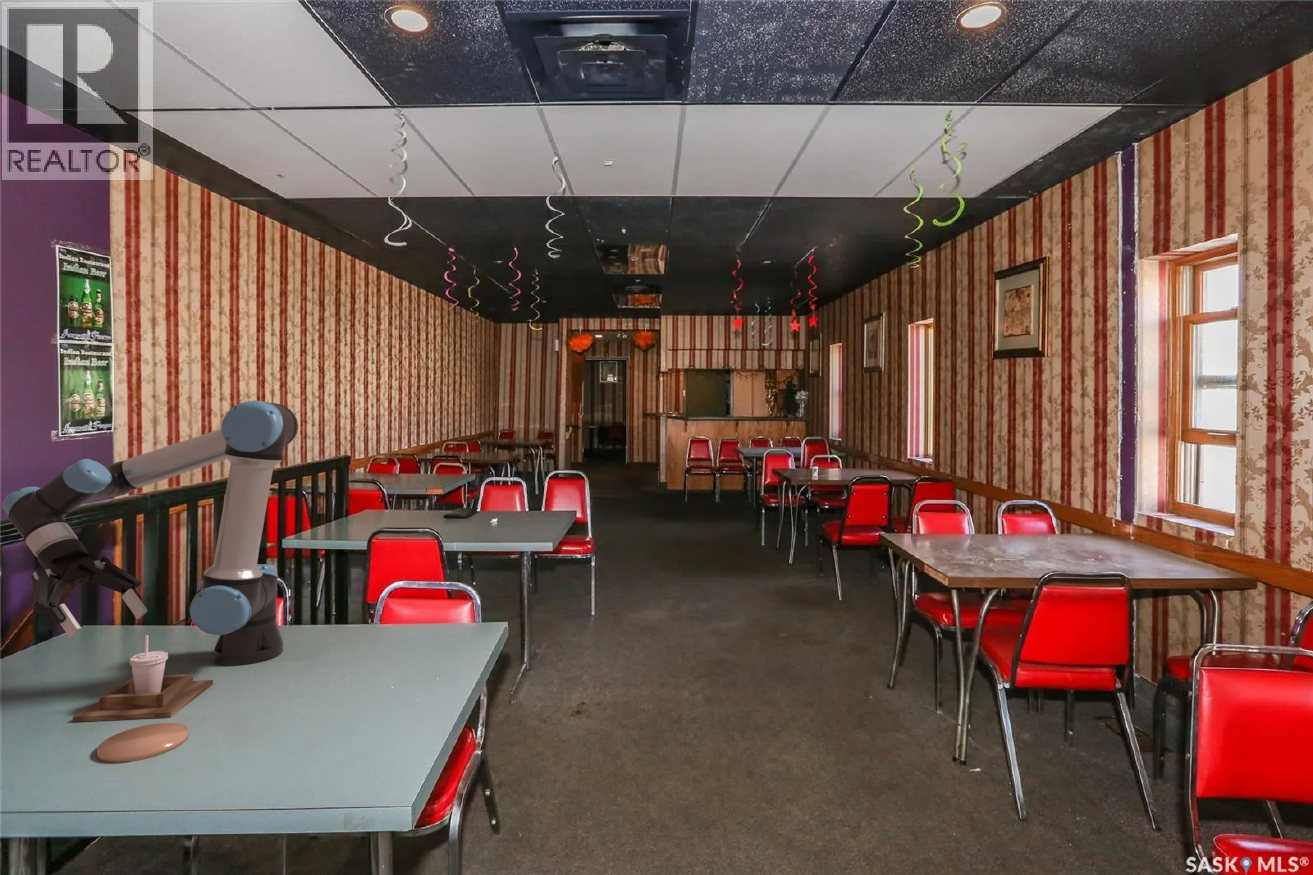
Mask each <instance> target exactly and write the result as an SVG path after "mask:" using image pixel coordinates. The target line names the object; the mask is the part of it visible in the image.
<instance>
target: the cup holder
mask: <svg viewBox="0 0 1313 875" xmlns="http://www.w3.org/2000/svg"><path fill="white" fill-rule="evenodd" d="M213 685H214V679H207V680H206V679H204V680H194V674H193V673H187V674H186V673H184V674H164V675H163V680H162V686H161V692H160V693H142V694H135V687H134V680H133V677H131V678H130V679H128V680H126V681H125V682H123V683H121V684H119V685H118V686H116V687H114V688H112V689H110V690H109V691H108V692H106V693H105V694H102V695H101V696H100V697H99V699H98V701H96V702H95V703H93V704H92V705H90V706H88V707H87V708H86V709H85V708H84V710H82V711H80V712H79V713H77V714H75V715H74V716H72V723H81V722H84V723H85V722H100V721H102V722H103V720H105V721H117V720H118V721H122V720H141V719H162V718H172V717H173V716H174V715H175V714H177V713H178V712H179V711H181V710H182V709H183V708H185V707H186V706H187V705H188V704H189V703H191V702H192V701H194V700H195V699H197V698H198V697H199V696H201V695H202V694H203V693H204V692H205V691H207V690H208V689H209V688H210V687H212V686H213Z"/></svg>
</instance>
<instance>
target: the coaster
mask: <svg viewBox="0 0 1313 875" xmlns="http://www.w3.org/2000/svg"><path fill="white" fill-rule="evenodd" d="M189 730H190V729H189V727H188V726H187V725H185V724H183V723H177V722H159V723H152V724H147V725H141V726H137V727H134V728H130V729H126V730H124V731H121V732H119V733H116V734H114V735H112V736H110V737H108V738H106V739H105V740H103V741H102V742H101V743H100V744H98V746H97V749H96V757H97V759H98V760H100V761H102V762H106V763H128V762H129V763H130V762H134V761H135V762H136V761H141V760H146V759H149V758H152V757H156V756H159V755H162V754H164V753H167V752H169V751H172V750H174V749H176V748H177V747H180V746H181V745H182V744H183V743H185V742H186V741H187V739H188V738H189V735H190V734H189Z"/></svg>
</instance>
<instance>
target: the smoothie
mask: <svg viewBox="0 0 1313 875" xmlns="http://www.w3.org/2000/svg"><path fill="white" fill-rule="evenodd" d="M168 659H169V653H168V652H166V651H163V650H156V651H149V634H147V635H145V636H144V652H142V653H138V654H136V655H133V656H131V657H130V658H129V666H131V672H132V678H133V680H134V687H135V694H142V693H160V692H161V686H162V680H163V675H165V669H166V662H167V660H168Z"/></svg>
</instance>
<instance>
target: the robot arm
mask: <svg viewBox="0 0 1313 875" xmlns="http://www.w3.org/2000/svg"><path fill="white" fill-rule="evenodd" d="M298 431H299V421H298V418H297V417H296V415H295V413H294V412H293V411H292V410H291V409H290V408H288V407H287V406H285V405H284V404H280V403H276V402H269V401H268V402H267V401H263V400H249V401H243V402H240V403H238V404H236V405H234V406H233V407H231V408H230V409H229V410H227V412H226V413H225V415H224V417H223V419H222V422H221V428H220V429H216V430H213V431H210V432H207V433H204V434H201V435H199V436H196V437H195V436H194V437H191V438H188V439H185V440H183V441H182V440H181V441H179V442H177V443H176V442H175V443H173V444H170V445H167V446H165V447H164V446H163V447H161V448H158V449H155V450H154V449H153V450H152V451H148V452H146V453H145V452H144V453H142V454H138V455H136V456H133V457H130V458H126V459H124V460H120V461H117V462H114V463H111V464H107V465H103V464H101V462H98V461H97V460H92V459H91V458H83V459H80V460H78V461H77V462H75V463H73V464H72V465H70V466H67V467H66V468H65V469H64V470H63V471H62V472H61V473H59V474H58V475H57V476H55V477H54V478H52V479H51V480H50V481H49V482H47V483H46V484H44V485H43V486H42V487H39V486H27V487H23V488H22V487H21V488H20V489H19V490H16V491H12V492H11V493H9V494H8V495H7V496H6V497H5V498H4V499H3V500H2V505H1V506H2V509H3V510H4V512H5V514H6V516H7V520H8V521H9V522H10V523H11V524H12V525H13V527H14V528H15V529H16V530H17V532H18V533H19V534H20V536H21V537H22V539H23V540H24V542H25V544H26V545H27V547H28V548H29V549H30V551H31V552H32V554H33V555H34V556H35V557H36V558H37V561H38V562H39V564H40V566H38V567H37V568H36V569H35V571H34V572H33V573H32V574H31V576H30V577H31V580H32V581H33V584H34V585H33V595H32V596H33V598H32V612H33V613H36V614H38V613H40V612H42V615H44V616H50V617H51V619H52V620H53V622H54V623H55V624H56V625H57V624H60V626H61V627H62V629H63V630H64V632H65V633H66V635H67V636H68V637H69V638H73V637H75V636H76V634H77V633H78V632H79V631H80V630H81V629H82V627H81V625H80V624H79V622H78V621H77V620H76V619H75V617H74V616H73V613H72V612H71V611H70V610H69V608H68V607H67V605H66V604H65V603H60V601H61V599H62V597H63V594H64V592H65V591H66V588H67V585H68V586H74V585H77V584H84V583H86V582H87V583H90V584H97V585H100V586H102V587H104V588H106V589H109V590H112V591H115V592H118V593H120V594H122V596H121V598H122V600H123V602H124V603H125V604H126V606H127V607H128V608H129V610H130V611H131V613H132V614H133V615H134V617H135V618H136V619H137V620H140V619H142V618H143V617H144V615H145V614H146V613H147V612H148V608H146V606H145V604H144V603H143V602H142V600H143V598H142V597H141V595H140V594H139V592H138V591H137V589H138V588H139V587H140V586H141V584H142V583H143V582H142V581H141V580H140V579H138V578H137V577H135V576H134V575H132V574H130V573H128V572H127V571H125V570H124V569H122V568H120V567H119V566H117V565H115V564H114V563H112V561H111V560H110V559H109V558H108V557H107V556H102V557H101V558H99V559H97V560H92V559H90V557H89V553H88V550H87V549H86V547H85V546H84V544H83V543H82V542H81V540H79V538H78V536H77V535H76V533H75V532H74V531H73V528H71V526H70V525H69V524H68V522H67V520H66V519H65V517H66V516H67V515H69V514H71V513H72V512H73V511H74V510H76V509H77V508H79V507H80V506H81V505H83V504H84V503H86V502H88V501H94V500H99V499H105V498H106V499H107V498H114V497H115V498H116V497H117V498H118V497H120V496H124V495H127V494H129V493H131V492H132V491H135V490H137V489H141V488H143V487H146V486H150V485H152V484H155V483H159V482H161V481H164V480H167V479H171V478H173V477H176V476H178V475H182V474H185V473H189V472H192V471H195V470H198V469H200V468H203V467H207V466H209V465H213V464H217V463H218V462H221V461H225V460H228V461H229V463H230V467H229V471H228V477H227V484H226V489H225V495H224V500H223V507H222V513H221V518H220V524H219V530H218V536H217V540H216V541H217V542H216V547H215V548H216V549H215V551H214V552H215V554H214V558H213V559H214V560H213V563H212V565H211V566H209V567H208V568H206V570H204V571H203V575H202V576H203V577H202V581H201V587H200V590H199V592H198V593H196V595H194V597H193V599H192V601H191V602H190V606H189V615H190V618H191V621H192V623H193V625H194V626H196V628H198V629H199V630H200V631H202V632H203V633H205V634H210V635H214V636H218V639H217V640H216V643H215V646H214V648H213V653H212V655H213V656H212V657H213V658H212V661H213V663H216V664H219V665H224V666H226V665H228V666H235V665H236V666H237V665H249V664H254V663H260V662H264V661H266V660H270V659H273V658H276V657H277V656H280V655H281V654H282V653H283V651H284V640H283V636H282V635H281V632H280V629H279V626H278V624H277V598H278V595H277V594H278V579H279V575H278V568H277V566H276V565H275V564H267V563H264V564H263V563H262V564H261V563H260V564H259V563H258V559H259V554H260V553H259V552H260V547H261V542H262V536H263V535H262V534H263V530H264V526H265V525H264V524H265V517H266V512H267V507H268V506H267V505H268V500H269V495H270V489H271V488H270V487H271V482H272V477H273V471H274V468H275V466H277V465H278V464H280V463H281V462H282V461H283V455H284V449H285V447H286V446H288V445H289V444H291V443H292V441H294V439H295V438H296V436H297V434H298ZM94 574H95V575H94ZM93 575H94V576H93ZM49 578H51V579H54V580H57V581H56V582H55V585H54V587H53V591H52V592H51V595H50V598H49V600H48V590H49V588H48V586H49ZM59 603H60V604H59Z"/></svg>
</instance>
